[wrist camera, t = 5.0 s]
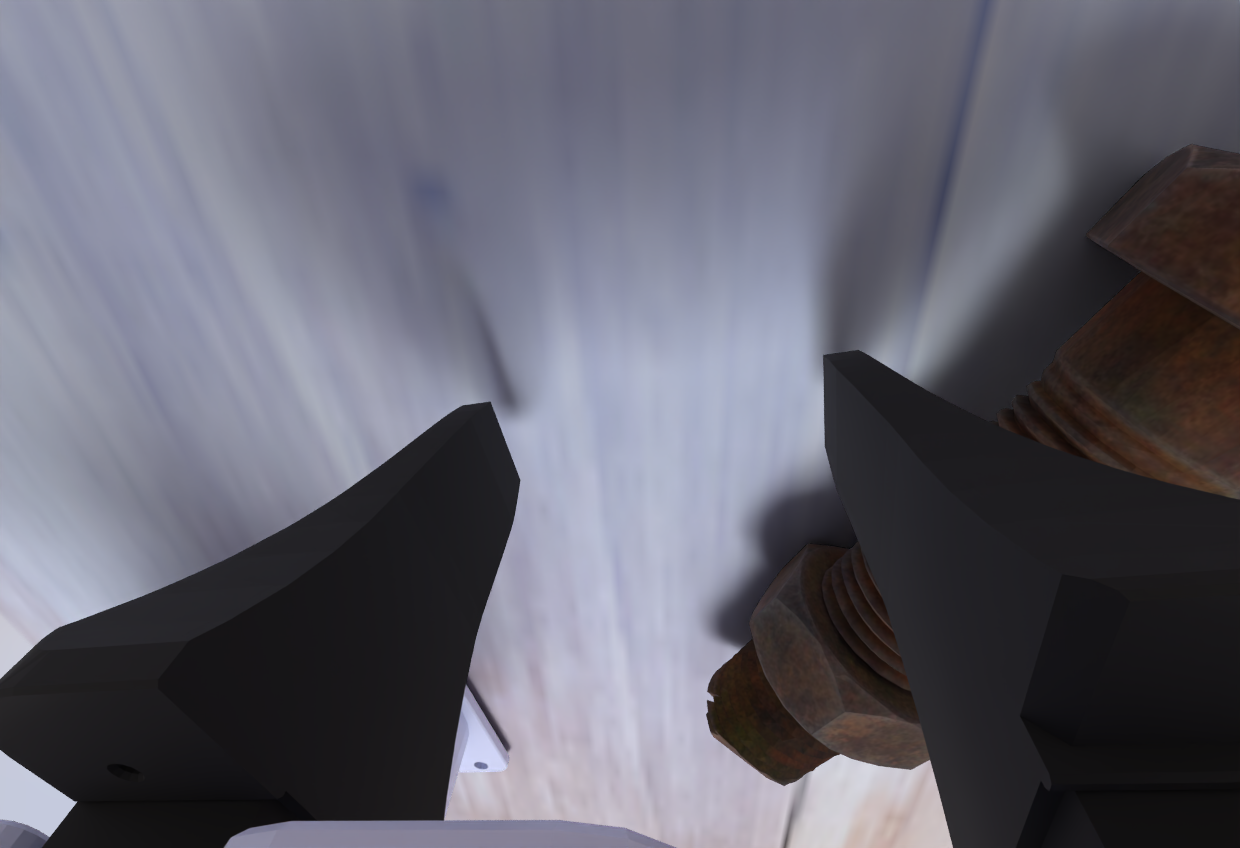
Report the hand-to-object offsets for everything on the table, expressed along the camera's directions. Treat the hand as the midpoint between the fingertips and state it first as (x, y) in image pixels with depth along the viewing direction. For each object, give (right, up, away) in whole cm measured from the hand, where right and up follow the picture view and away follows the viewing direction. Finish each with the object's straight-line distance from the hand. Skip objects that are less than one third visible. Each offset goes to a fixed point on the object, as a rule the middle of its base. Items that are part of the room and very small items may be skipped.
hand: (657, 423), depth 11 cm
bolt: (+6, -2, +2) cm, 7 cm away
